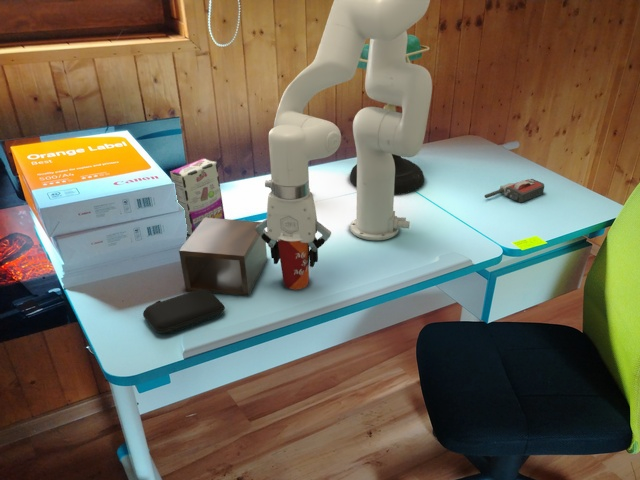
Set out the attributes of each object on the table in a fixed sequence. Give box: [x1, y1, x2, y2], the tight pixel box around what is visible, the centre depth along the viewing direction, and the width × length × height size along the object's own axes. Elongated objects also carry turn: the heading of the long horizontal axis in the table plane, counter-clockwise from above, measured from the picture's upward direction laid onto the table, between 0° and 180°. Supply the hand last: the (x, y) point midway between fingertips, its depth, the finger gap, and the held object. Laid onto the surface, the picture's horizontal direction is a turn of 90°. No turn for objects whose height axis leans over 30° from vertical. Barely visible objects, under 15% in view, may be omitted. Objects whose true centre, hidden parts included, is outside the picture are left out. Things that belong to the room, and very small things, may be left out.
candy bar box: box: [169, 157, 226, 236], centre depth 157 cm, size 11×5×16 cm, turn 148°
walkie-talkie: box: [484, 178, 545, 203], centre depth 186 cm, size 9×4×20 cm
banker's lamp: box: [349, 34, 430, 196], centre depth 181 cm, size 26×23×40 cm
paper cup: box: [277, 233, 310, 290], centre depth 138 cm, size 8×8×14 cm
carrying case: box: [142, 289, 226, 336], centre depth 129 cm, size 11×3×15 cm
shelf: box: [178, 218, 268, 297], centre depth 140 cm, size 14×16×10 cm
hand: (294, 262), depth 139 cm, fingers closed on paper cup, 7 cm apart
